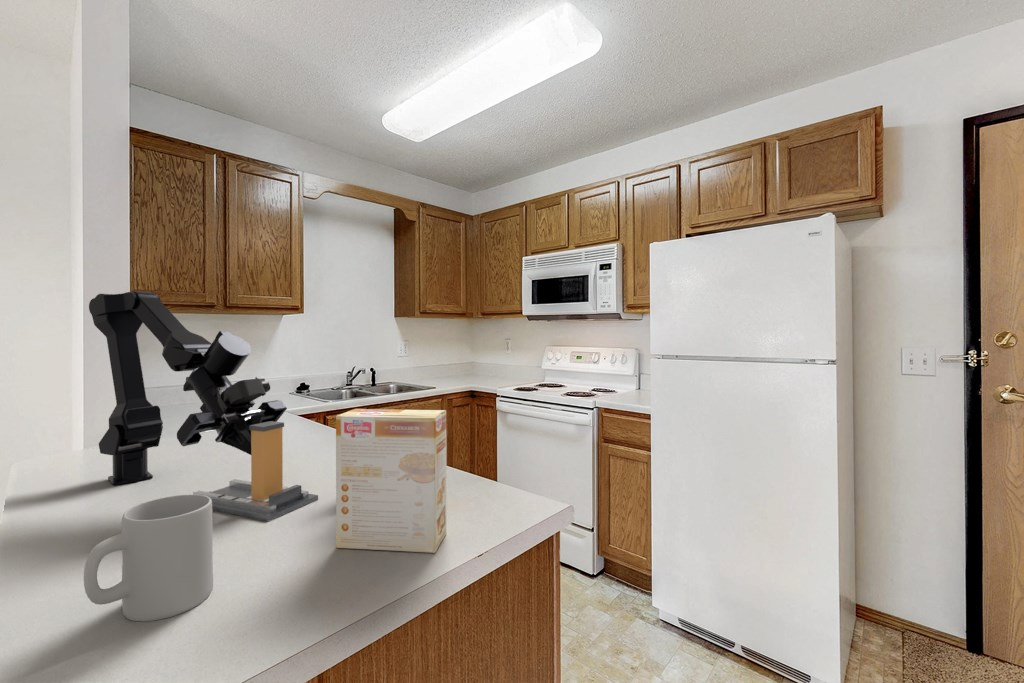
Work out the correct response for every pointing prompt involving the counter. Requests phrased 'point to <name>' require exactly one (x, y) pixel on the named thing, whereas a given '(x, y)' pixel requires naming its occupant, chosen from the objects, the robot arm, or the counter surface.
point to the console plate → (237, 504)
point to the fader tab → (266, 460)
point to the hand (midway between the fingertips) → (259, 455)
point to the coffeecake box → (391, 479)
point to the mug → (158, 558)
